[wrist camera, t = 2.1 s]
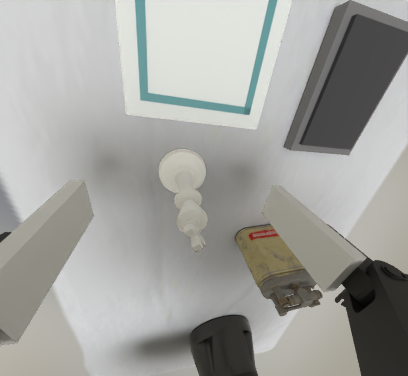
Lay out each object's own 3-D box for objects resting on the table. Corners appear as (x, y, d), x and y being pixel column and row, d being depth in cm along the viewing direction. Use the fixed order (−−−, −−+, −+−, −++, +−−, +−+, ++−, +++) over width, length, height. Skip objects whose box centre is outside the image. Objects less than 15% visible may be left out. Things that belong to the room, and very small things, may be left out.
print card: (255, 129, 16) (257, 129, 16) (126, 114, 13) (125, 114, 13) (307, -64, 10) (312, -69, 10) (100, -160, 8) (97, -172, 7)
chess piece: (191, 139, 15) (220, 192, 7) (212, 177, 18) (252, 251, 9) (148, 164, 16) (125, 244, 7) (175, 198, 18) (181, 287, 10)
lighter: (280, 222, 24) (342, 291, 16) (274, 240, 26) (326, 310, 17) (236, 228, 23) (276, 307, 14) (233, 246, 25) (267, 325, 16)
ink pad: (339, 152, 20) (352, 156, 18) (283, 146, 18) (293, 151, 16) (404, 32, 14) (429, 25, 13) (335, 7, 12) (355, -3, 11)
